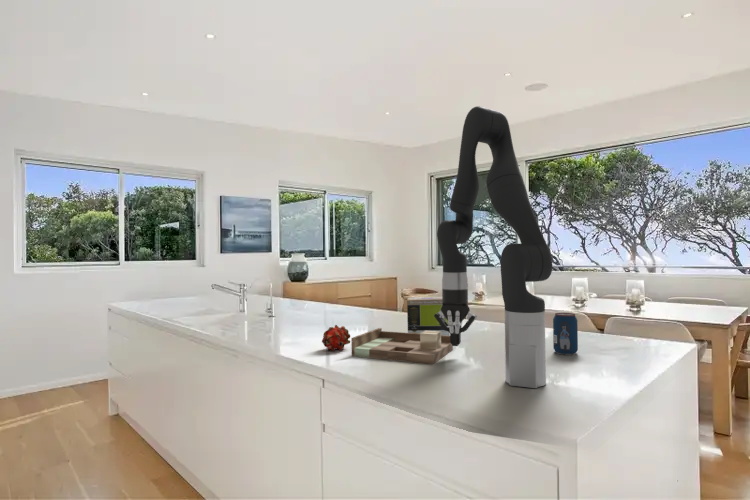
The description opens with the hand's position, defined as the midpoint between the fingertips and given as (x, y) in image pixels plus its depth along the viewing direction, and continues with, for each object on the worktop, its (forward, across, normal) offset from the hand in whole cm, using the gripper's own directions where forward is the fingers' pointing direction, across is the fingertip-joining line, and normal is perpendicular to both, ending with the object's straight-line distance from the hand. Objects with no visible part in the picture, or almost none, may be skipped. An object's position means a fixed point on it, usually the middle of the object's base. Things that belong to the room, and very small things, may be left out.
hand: (455, 345), depth 138 cm
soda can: (+4, +29, +19) cm, 35 cm away
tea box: (+4, -18, +27) cm, 32 cm away
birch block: (+1, -8, 0) cm, 8 cm away
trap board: (+4, -17, 0) cm, 17 cm away
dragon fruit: (+4, -39, -4) cm, 39 cm away
